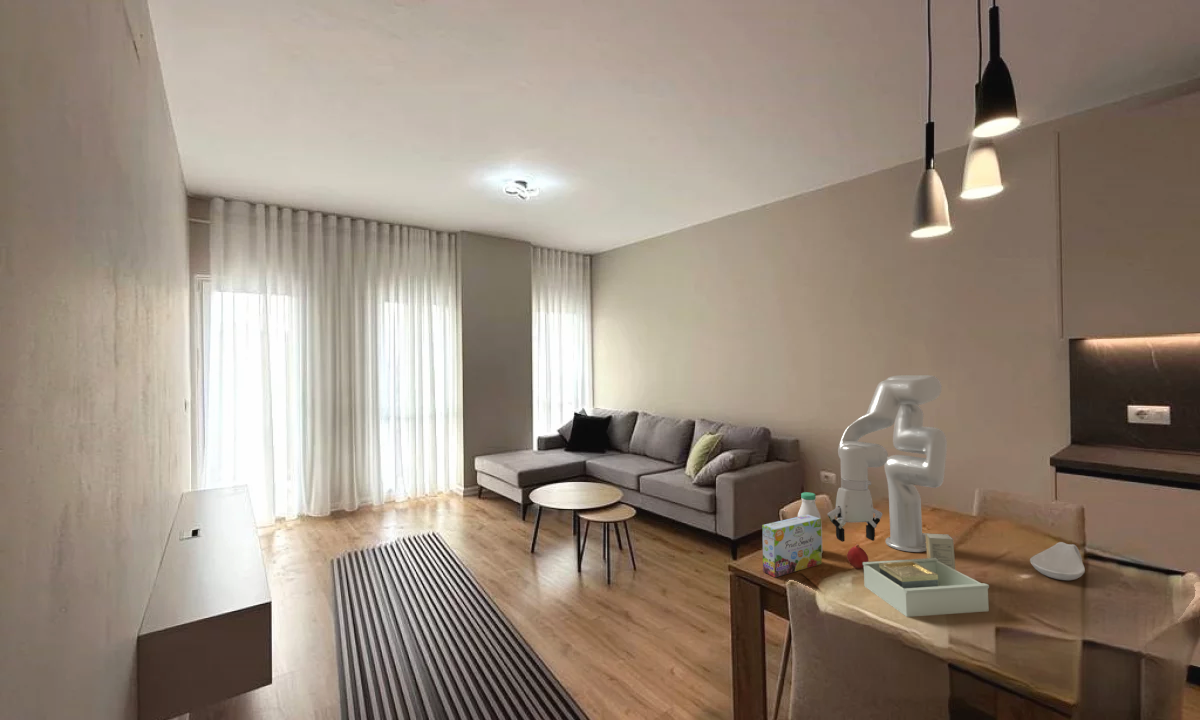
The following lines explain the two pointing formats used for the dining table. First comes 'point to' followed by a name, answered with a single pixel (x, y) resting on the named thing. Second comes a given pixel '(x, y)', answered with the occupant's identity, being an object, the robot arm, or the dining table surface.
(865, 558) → the onion
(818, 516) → the milk bottle
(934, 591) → the box
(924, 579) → the tin
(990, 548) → the dining table surface
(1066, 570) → the spoon rest
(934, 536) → the skincare box
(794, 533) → the snack box
